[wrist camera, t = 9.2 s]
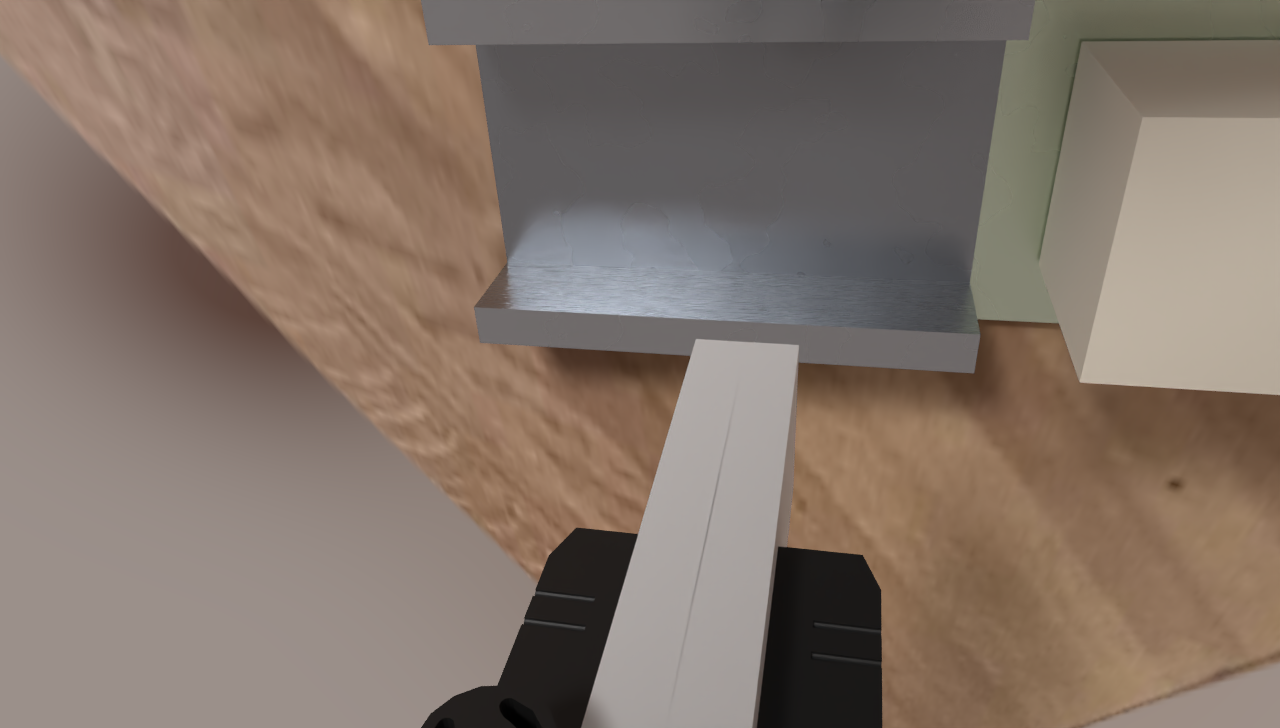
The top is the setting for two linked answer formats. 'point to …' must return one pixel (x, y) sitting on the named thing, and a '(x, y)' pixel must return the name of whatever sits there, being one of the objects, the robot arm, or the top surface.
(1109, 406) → the top surface
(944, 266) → the chute
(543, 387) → the top surface
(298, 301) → the top surface
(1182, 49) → the block
